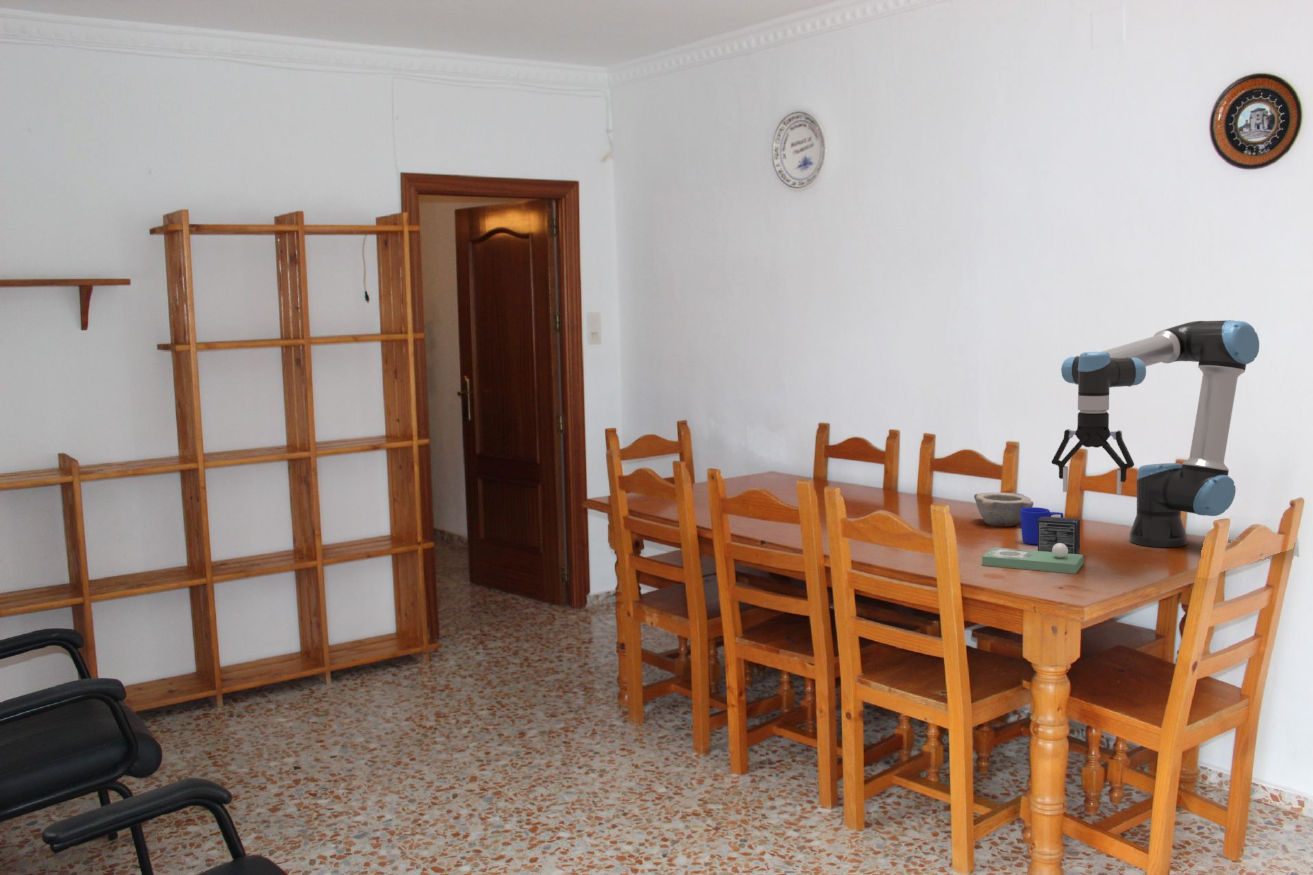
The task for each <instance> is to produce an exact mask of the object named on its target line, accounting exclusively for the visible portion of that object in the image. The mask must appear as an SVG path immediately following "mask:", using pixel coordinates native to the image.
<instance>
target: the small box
mask: <svg viewBox="0 0 1313 875" xmlns="http://www.w3.org/2000/svg"><path fill="white" fill-rule="evenodd" d="M1057 543H1062V544H1064V545H1066V546H1067V548H1068V554H1080V555H1081V552H1080V551H1081V519H1080V518H1075V517H1074V518H1073V517H1063V518H1061V517H1055V516H1054V517H1053V516H1051V517H1041V518H1039V519H1038V545H1037V551H1044V552H1052V548H1053V546H1054V545H1055V544H1057Z"/></svg>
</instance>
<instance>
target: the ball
mask: <svg viewBox="0 0 1313 875" xmlns="http://www.w3.org/2000/svg"><path fill="white" fill-rule="evenodd" d="M1052 553H1053V555H1054V556H1055V557H1057V558H1063V557H1065V556H1066V555H1067V554H1068V548H1067V546H1066V545H1064V544H1062V543H1057V544H1055V545H1054V546H1053V548H1052Z"/></svg>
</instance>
